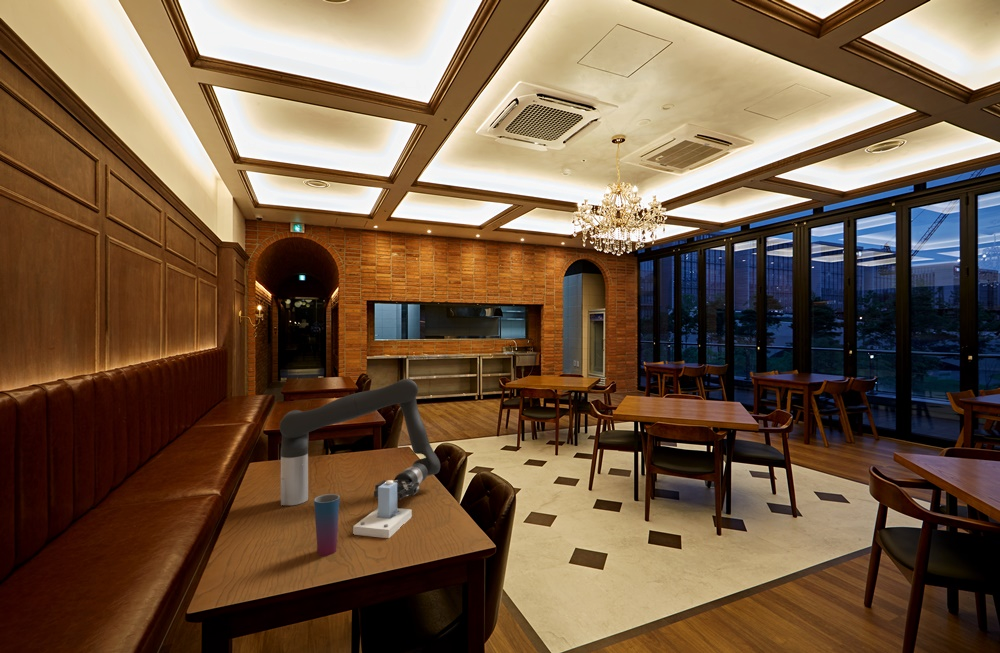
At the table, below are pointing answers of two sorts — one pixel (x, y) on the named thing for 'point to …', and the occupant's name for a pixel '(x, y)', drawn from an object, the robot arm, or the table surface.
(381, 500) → the block
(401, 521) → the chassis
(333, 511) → the cup
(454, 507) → the table surface
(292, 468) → the robot arm
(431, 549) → the table surface
